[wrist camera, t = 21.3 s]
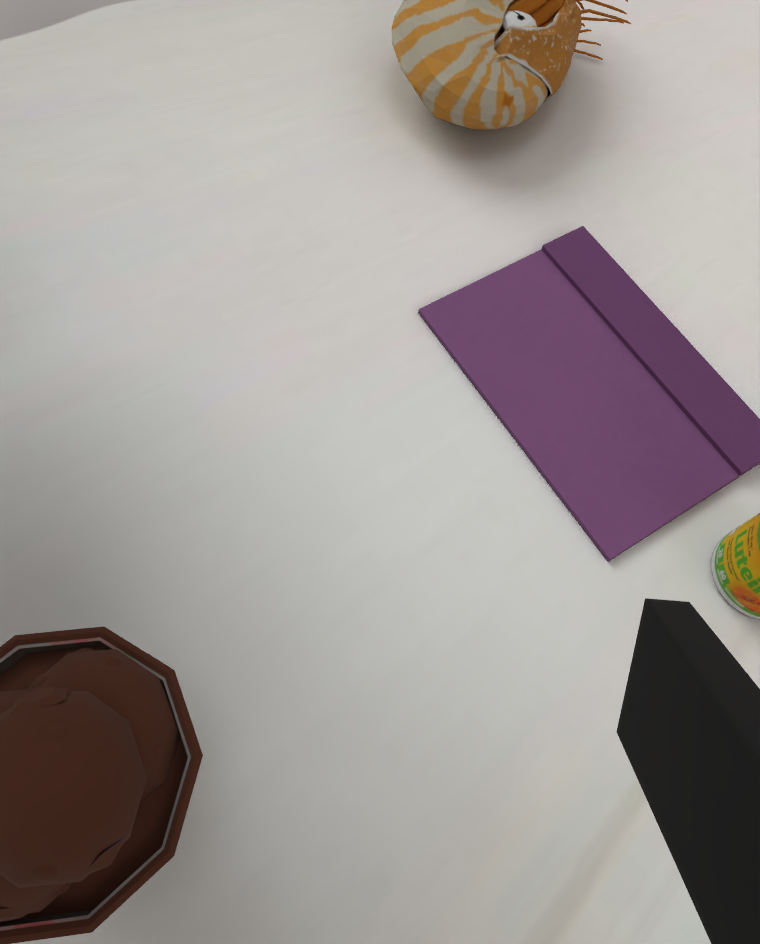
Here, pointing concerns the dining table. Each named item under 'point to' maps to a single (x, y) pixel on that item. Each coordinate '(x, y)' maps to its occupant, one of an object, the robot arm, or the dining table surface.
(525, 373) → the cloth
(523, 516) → the dining table surface
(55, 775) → the ice cream bowl
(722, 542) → the supplement bottle
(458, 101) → the nautilus
